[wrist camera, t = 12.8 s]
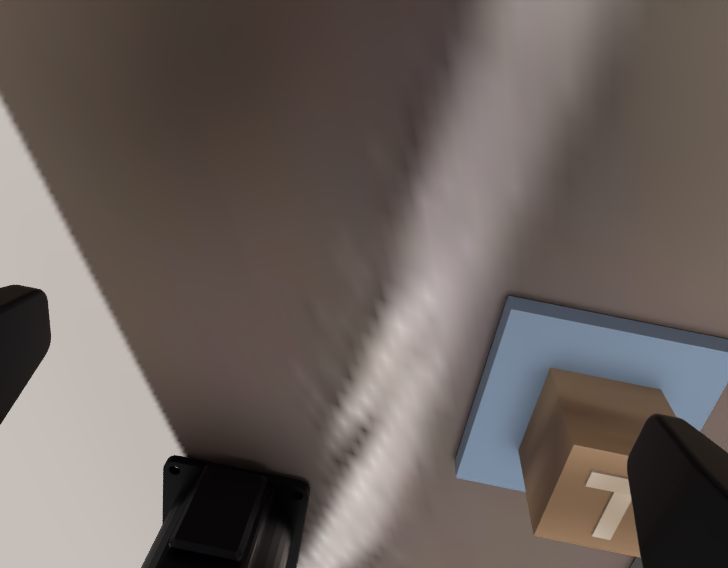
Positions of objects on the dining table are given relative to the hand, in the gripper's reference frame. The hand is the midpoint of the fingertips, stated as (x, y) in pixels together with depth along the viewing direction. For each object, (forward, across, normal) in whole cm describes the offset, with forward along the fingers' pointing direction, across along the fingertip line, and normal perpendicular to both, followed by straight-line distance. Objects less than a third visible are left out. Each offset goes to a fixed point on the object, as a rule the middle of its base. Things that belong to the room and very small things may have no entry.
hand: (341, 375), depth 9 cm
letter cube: (+11, -9, +8) cm, 16 cm away
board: (+12, -9, +8) cm, 17 cm away
